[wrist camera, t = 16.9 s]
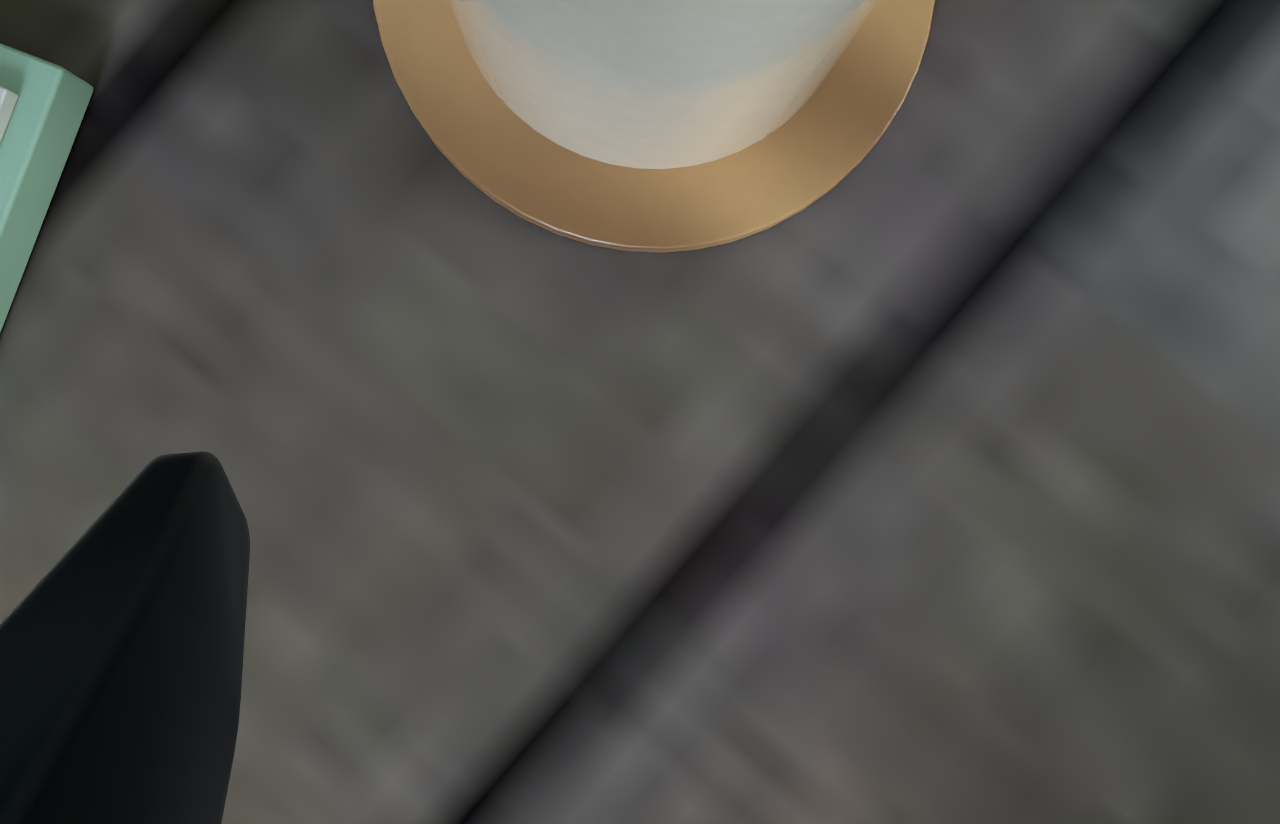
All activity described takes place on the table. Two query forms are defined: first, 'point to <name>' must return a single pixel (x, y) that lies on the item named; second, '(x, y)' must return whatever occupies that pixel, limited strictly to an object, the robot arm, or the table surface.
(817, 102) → the coaster
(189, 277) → the table surface
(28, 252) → the scale
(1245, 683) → the table surface
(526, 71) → the cup
